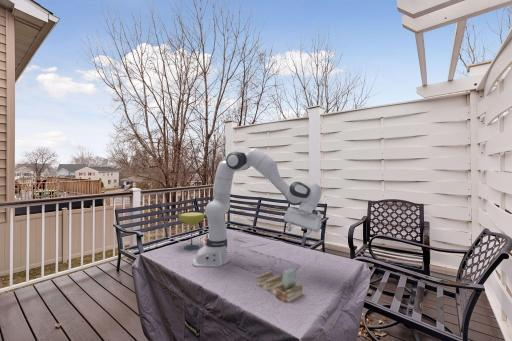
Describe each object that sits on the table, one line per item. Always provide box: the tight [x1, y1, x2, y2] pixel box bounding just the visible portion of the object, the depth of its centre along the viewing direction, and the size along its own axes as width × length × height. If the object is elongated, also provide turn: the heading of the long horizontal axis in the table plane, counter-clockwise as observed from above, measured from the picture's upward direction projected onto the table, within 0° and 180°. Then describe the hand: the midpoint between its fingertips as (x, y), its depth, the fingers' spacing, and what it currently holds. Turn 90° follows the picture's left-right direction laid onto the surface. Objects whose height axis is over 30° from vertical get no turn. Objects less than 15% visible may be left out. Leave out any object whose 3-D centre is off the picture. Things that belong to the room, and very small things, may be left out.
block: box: [282, 267, 297, 293], centre depth 118 cm, size 3×6×10 cm, turn 132°
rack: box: [256, 270, 304, 303], centre depth 122 cm, size 21×11×4 cm, turn 42°
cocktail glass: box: [178, 210, 205, 251], centre depth 182 cm, size 18×18×25 cm
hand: (296, 233), depth 131 cm, fingers open, 8 cm apart
